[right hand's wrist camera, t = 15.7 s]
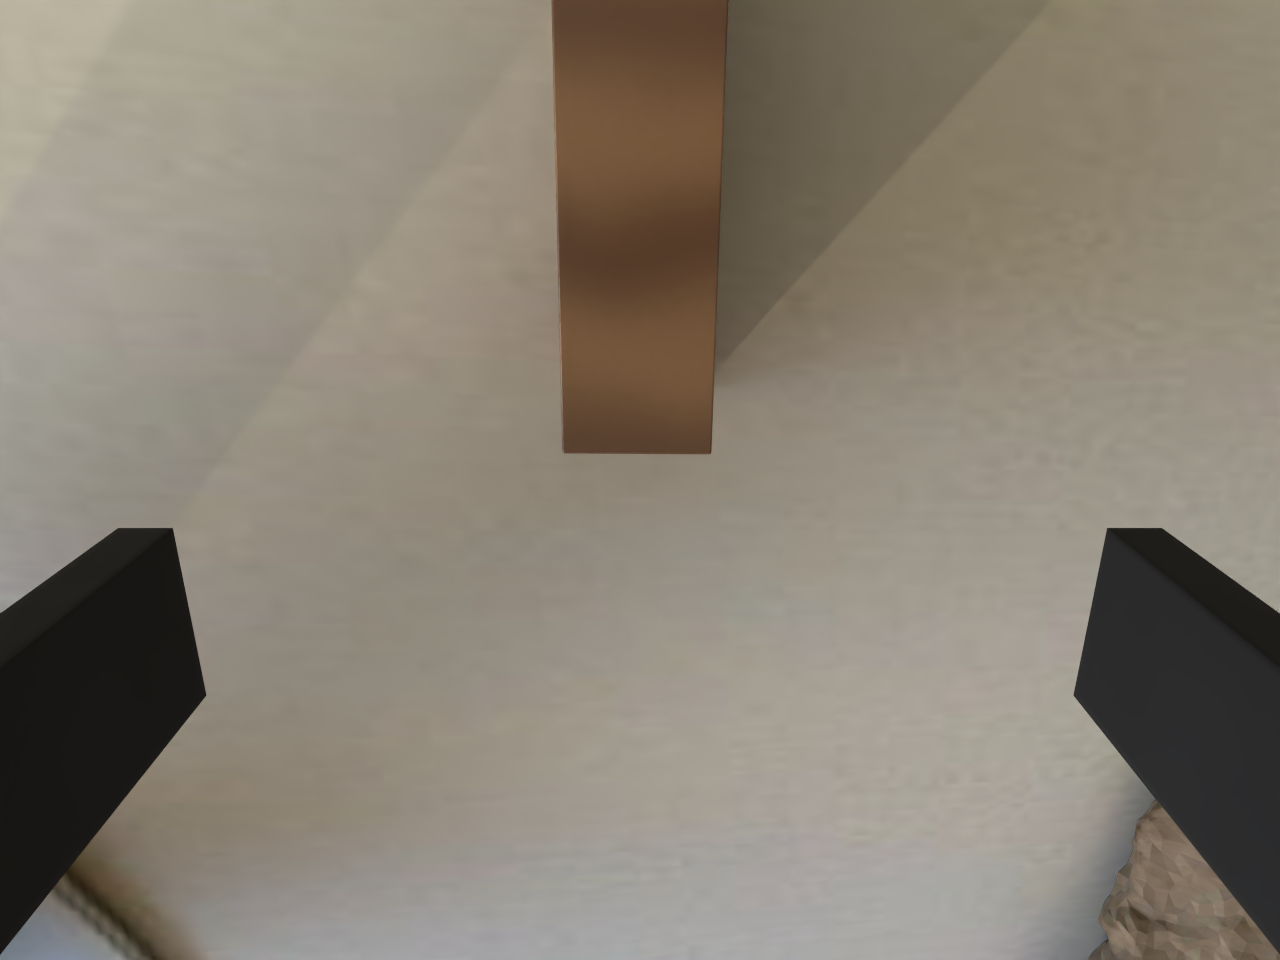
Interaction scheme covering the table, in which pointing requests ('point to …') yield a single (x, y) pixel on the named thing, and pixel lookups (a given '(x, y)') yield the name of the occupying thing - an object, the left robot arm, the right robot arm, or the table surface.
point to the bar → (638, 220)
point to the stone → (1174, 904)
